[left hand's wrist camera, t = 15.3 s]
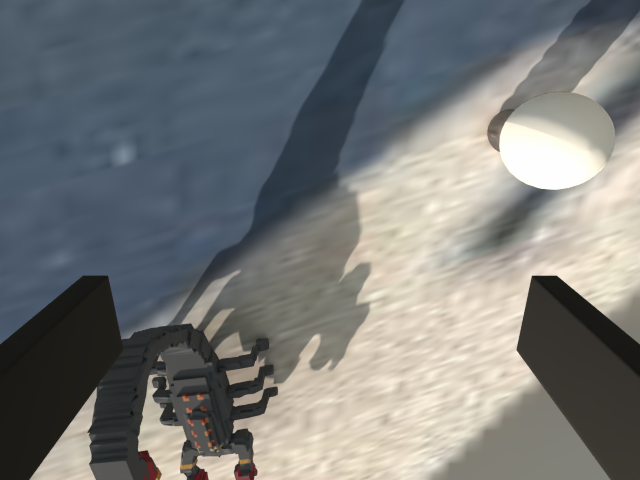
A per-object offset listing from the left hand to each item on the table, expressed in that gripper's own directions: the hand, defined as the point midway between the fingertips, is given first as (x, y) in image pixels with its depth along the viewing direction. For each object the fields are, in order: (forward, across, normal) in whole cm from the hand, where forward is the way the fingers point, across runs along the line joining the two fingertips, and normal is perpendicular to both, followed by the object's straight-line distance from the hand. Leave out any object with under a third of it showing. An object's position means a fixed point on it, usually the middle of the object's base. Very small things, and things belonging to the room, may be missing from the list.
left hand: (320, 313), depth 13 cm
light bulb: (+26, -17, -3) cm, 31 cm away
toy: (+26, +12, +25) cm, 38 cm away
